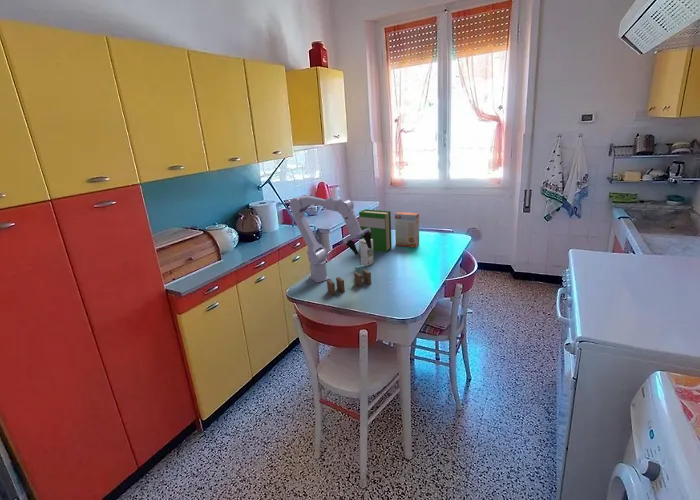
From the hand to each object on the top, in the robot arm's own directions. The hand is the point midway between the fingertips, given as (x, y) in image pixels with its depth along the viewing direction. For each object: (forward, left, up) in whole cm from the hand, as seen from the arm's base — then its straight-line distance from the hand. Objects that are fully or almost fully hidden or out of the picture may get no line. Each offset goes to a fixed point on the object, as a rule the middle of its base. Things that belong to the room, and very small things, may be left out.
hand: (363, 251), depth 173 cm
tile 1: (-3, -17, -18) cm, 25 cm away
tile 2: (-3, -12, -18) cm, 22 cm away
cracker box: (-35, +53, -18) cm, 66 cm away
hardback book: (-42, +34, -18) cm, 57 cm away
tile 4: (-3, +3, -18) cm, 18 cm away
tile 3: (-3, -2, -18) cm, 18 cm away
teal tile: (-11, +4, -18) cm, 21 cm away
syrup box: (-24, +16, -18) cm, 34 cm away
